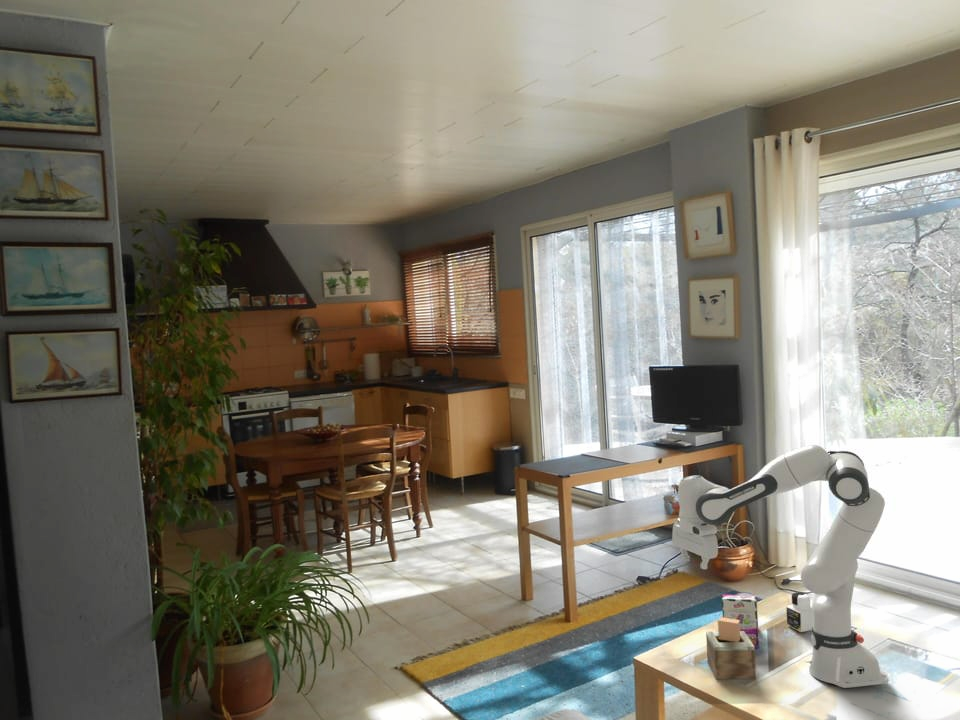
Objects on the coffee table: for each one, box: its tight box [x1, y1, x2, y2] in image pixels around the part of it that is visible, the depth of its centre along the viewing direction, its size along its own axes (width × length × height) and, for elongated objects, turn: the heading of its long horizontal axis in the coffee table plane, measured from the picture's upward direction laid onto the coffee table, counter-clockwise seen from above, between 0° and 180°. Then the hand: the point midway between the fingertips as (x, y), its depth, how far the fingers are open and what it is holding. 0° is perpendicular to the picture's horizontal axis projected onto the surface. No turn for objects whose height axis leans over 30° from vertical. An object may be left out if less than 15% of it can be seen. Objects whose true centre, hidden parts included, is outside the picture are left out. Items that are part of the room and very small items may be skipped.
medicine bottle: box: [785, 591, 813, 633], centre depth 264 cm, size 7×7×12 cm
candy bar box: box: [721, 594, 760, 649], centre depth 253 cm, size 11×5×16 cm, turn 71°
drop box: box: [705, 630, 757, 680], centre depth 235 cm, size 12×12×10 cm
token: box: [717, 616, 741, 642], centre depth 234 cm, size 6×3×6 cm, turn 59°
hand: (694, 564), depth 249 cm, fingers open, 8 cm apart
